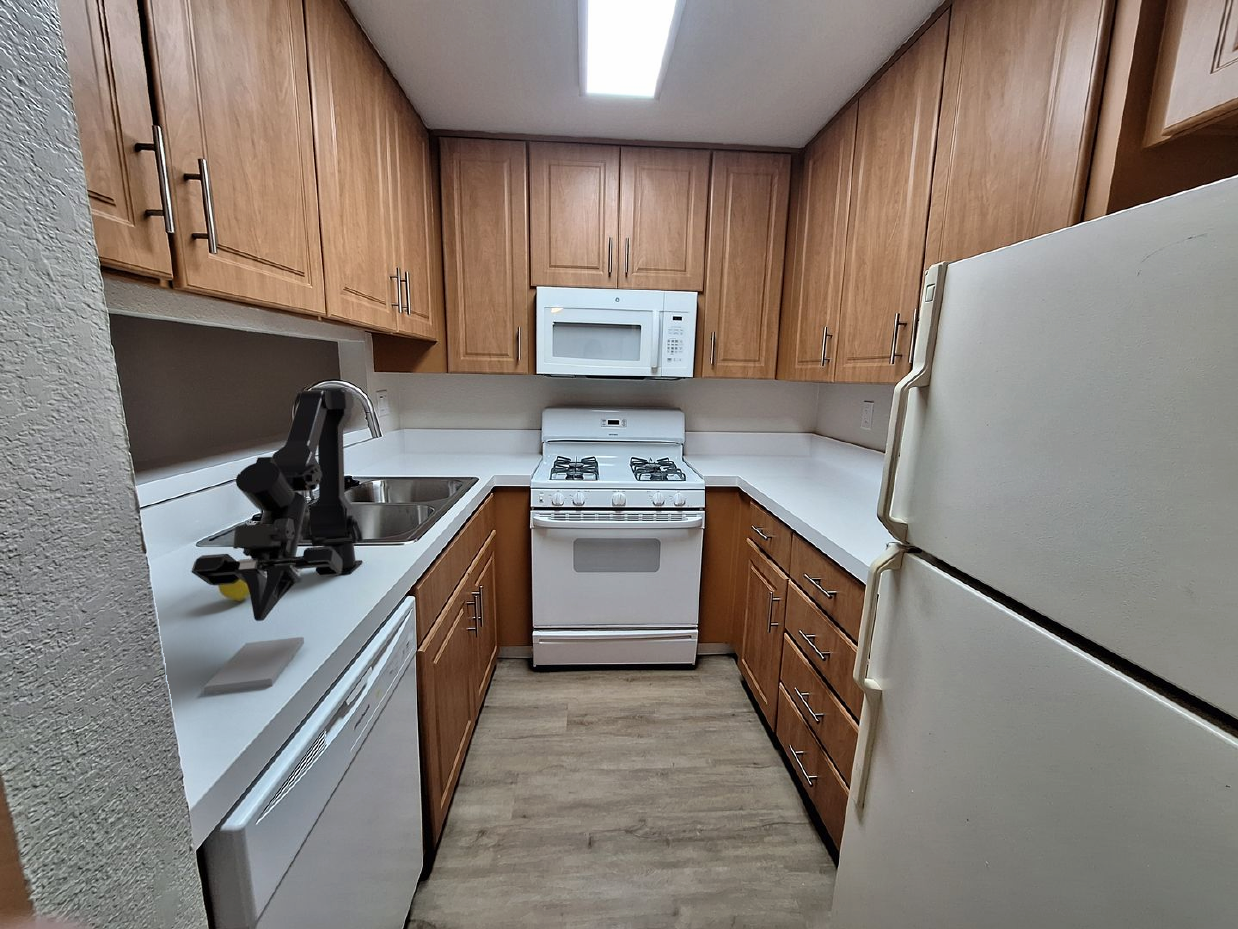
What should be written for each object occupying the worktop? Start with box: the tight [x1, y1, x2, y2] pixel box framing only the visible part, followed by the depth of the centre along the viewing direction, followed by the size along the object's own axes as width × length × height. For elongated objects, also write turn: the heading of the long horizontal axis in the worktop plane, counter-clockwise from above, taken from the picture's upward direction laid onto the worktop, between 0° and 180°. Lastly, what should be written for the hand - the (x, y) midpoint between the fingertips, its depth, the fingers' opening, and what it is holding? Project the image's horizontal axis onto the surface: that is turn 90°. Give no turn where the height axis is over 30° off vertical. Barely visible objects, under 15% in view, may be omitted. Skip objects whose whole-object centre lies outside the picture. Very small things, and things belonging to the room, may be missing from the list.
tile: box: [203, 636, 305, 694], centre depth 72 cm, size 2×8×11 cm
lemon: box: [217, 579, 250, 602], centre depth 92 cm, size 6×6×8 cm
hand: (258, 620), depth 73 cm, fingers closed
